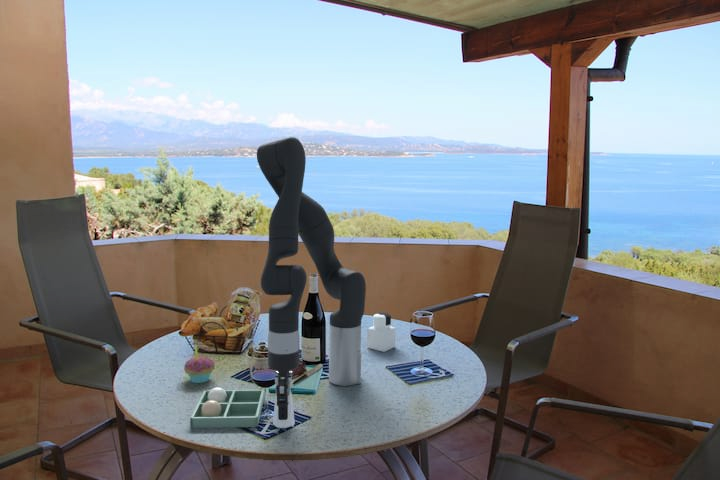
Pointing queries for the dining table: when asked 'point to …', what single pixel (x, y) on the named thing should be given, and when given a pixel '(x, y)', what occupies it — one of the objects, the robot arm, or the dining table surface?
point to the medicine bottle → (381, 333)
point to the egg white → (217, 395)
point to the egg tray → (231, 410)
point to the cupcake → (199, 368)
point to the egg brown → (211, 409)
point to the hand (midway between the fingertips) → (283, 414)
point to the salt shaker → (290, 420)
